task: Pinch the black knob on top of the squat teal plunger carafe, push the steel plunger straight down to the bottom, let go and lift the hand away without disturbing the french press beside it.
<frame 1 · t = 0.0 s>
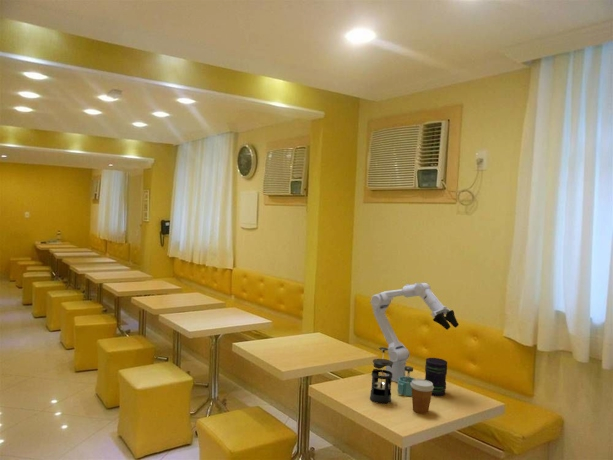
hand: (452, 327, 209), 32 cm above the table, tool tilted 50°, fingers open, 7 cm apart
carafe: (407, 392, 212), on the table
french press: (379, 399, 203), on the table
plunger: (408, 376, 212), point 8 cm above the table, slide at 3.0 cm
storage jar: (434, 393, 215), on the table
disposable coffee cup: (420, 411, 193), on the table
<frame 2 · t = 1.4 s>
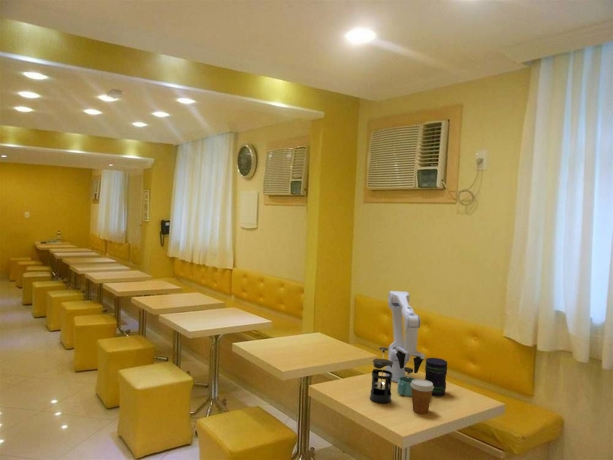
hand: (408, 370, 212), 10 cm above the table, tool pointing down, fingers open, 7 cm apart
plunger: (408, 377, 212), point 7 cm above the table, slide at 2.5 cm
everything else where it was.
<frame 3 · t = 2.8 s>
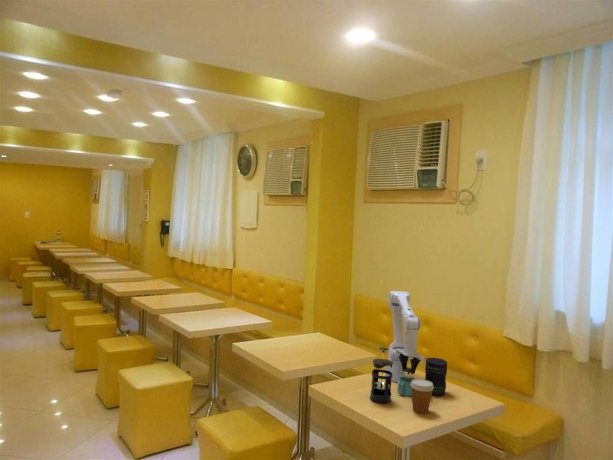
hand: (408, 372, 212), 10 cm above the table, tool pointing down, fingers closed on plunger, 4 cm apart
plunger: (408, 377, 212), point 7 cm above the table, slide at 2.5 cm, touching gripper
everything else where it was.
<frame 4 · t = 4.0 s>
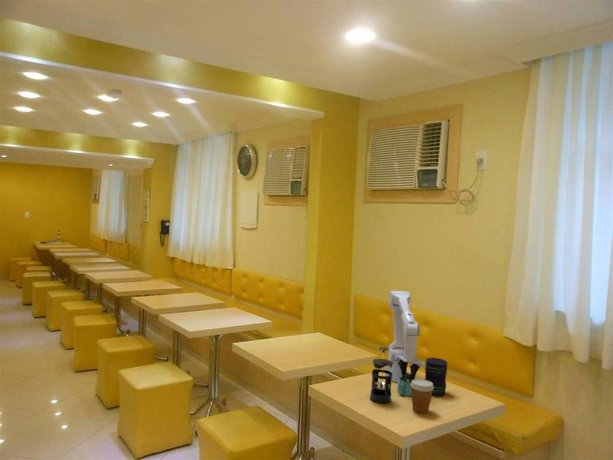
hand: (408, 378, 212), 7 cm above the table, tool pointing down, fingers closed on plunger, 4 cm apart
plunger: (407, 382, 212), point 5 cm above the table, slide at -0.1 cm, touching carafe, gripper
everything else where it was.
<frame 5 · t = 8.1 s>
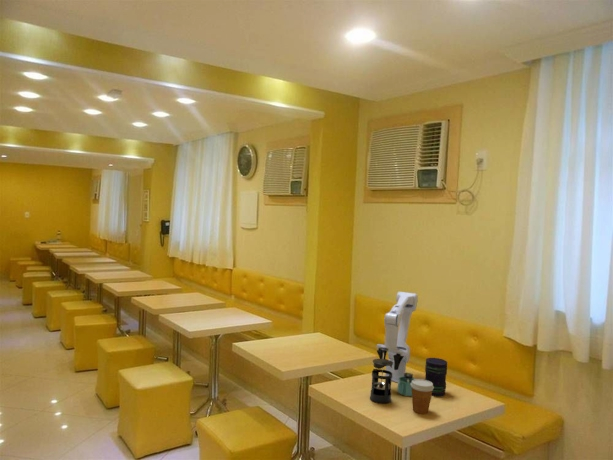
hand: (389, 367, 215), 10 cm above the table, tool pointing down, fingers open, 7 cm apart
plunger: (407, 382, 212), point 5 cm above the table, slide at -0.1 cm
everything else where it was.
at the end: plunger slide at -0.1 cm; french press moved 0.2 cm from its start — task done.
